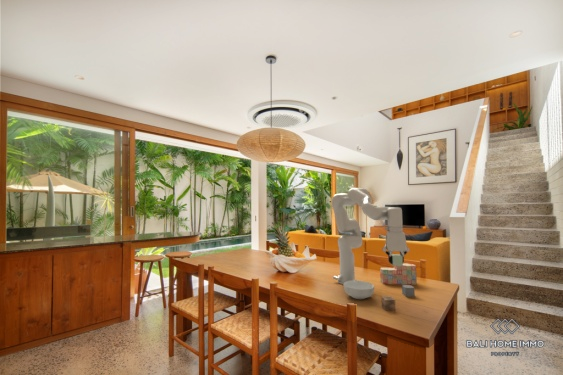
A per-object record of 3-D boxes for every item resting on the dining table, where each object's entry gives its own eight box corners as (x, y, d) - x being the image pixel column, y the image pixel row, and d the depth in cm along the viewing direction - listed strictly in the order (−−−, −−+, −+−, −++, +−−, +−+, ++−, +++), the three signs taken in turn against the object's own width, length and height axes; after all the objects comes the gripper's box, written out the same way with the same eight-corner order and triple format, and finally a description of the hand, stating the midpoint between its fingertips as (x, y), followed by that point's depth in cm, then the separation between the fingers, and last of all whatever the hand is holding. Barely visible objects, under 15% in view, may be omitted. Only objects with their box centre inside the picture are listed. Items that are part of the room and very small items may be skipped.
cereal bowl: (370, 304, 140) (369, 291, 141) (339, 298, 149) (339, 286, 150) (377, 294, 155) (377, 282, 155) (349, 290, 164) (349, 278, 164)
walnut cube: (385, 310, 133) (384, 300, 133) (382, 306, 138) (381, 296, 138) (395, 310, 133) (395, 300, 133) (391, 306, 138) (391, 296, 138)
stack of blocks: (382, 284, 175) (382, 265, 175) (380, 281, 181) (379, 262, 182) (417, 284, 173) (416, 265, 173) (413, 281, 179) (412, 263, 179)
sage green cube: (393, 265, 143) (393, 256, 143) (389, 263, 148) (389, 254, 148) (402, 265, 143) (402, 256, 143) (399, 263, 148) (398, 254, 148)
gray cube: (405, 296, 151) (405, 287, 152) (402, 293, 156) (401, 285, 157) (414, 296, 151) (414, 287, 151) (410, 293, 156) (410, 285, 156)
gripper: (381, 230, 143) (382, 265, 142) (414, 230, 142) (415, 265, 141) (377, 229, 150) (378, 261, 149) (407, 229, 150) (409, 261, 149)
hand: (396, 263), depth 145 cm, fingers closed on sage green cube, 4 cm apart
